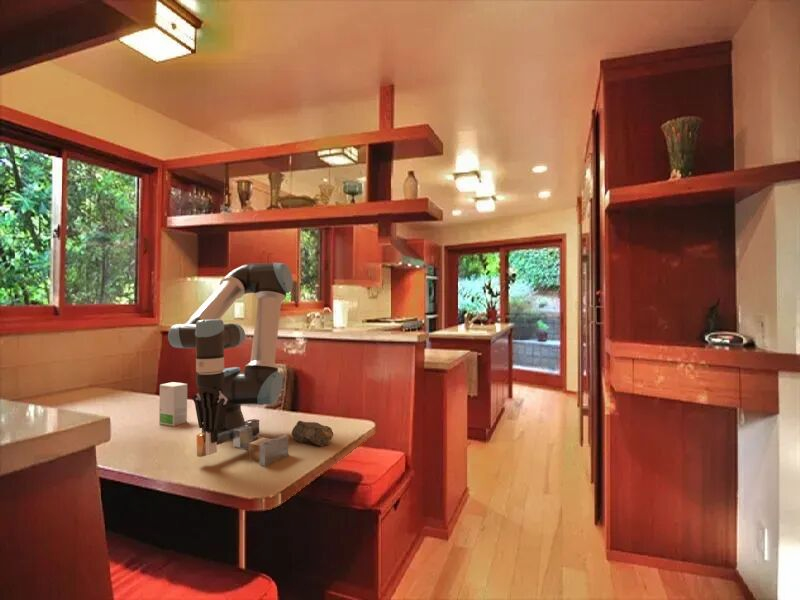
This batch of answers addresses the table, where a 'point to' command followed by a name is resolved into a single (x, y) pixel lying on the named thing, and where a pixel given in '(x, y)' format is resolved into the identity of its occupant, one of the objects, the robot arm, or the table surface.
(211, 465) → the table surface
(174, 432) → the table surface
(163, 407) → the skincare box
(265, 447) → the grey piece
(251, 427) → the lever
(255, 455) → the tan cardboard box
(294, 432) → the rock
